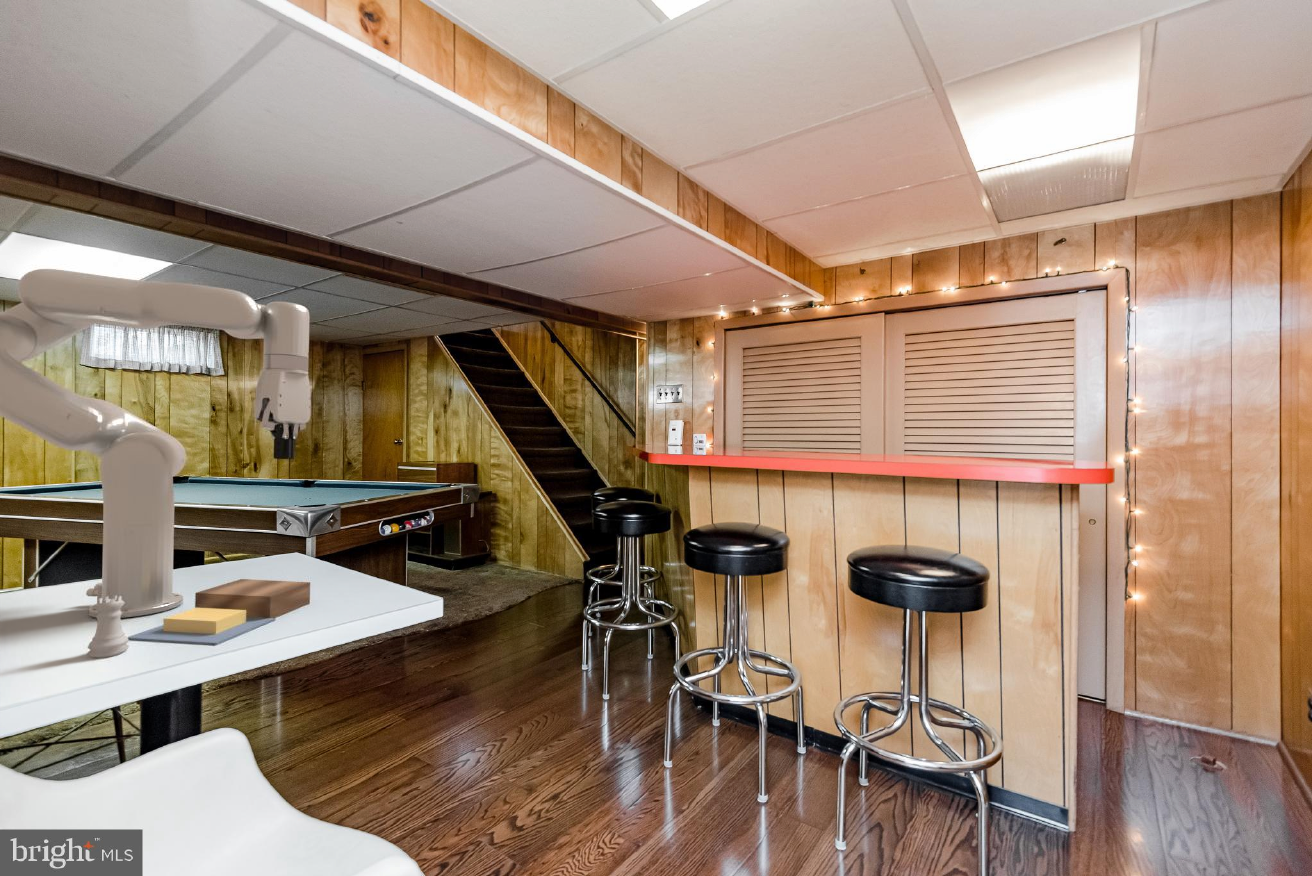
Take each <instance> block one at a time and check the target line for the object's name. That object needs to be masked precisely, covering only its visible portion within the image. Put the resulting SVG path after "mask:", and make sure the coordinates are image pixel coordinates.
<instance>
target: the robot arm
mask: <svg viewBox="0 0 1312 876" xmlns="http://www.w3.org/2000/svg"><path fill="white" fill-rule="evenodd" d="M17 295H18V297H19V299H20V301H21V302H20V303H18V304H16V305H14V306H13V307H10V308H8V309H7V310H5V311H2V312H1V311H0V416H1V417H2V418H4V419H6V420H8V421H9V422H11V423H13V424H14V425H17V426H19V427H21V428H22V429H24V430H26V431H28V432H30V433H32V434H34V435H36V436H38V437H40V439H43V440H44V441H46V442H48V443H50V444H52V445H53V446H54V447H58V448H61V449H63V450H67V451H69V450H70V451H86V452H87V453H90V454H92V455H94V456H96V457H97V458H100V465H99V472H100V480H101V481H100V482H101V487H102V500H103V509H102V510H103V511H102V513H103V514H102V517H103V518H102V519H103V520H102V525H103V527H102V529H103V530H102V531H103V532H102V538H103V539H102V570H101V571H102V572H101V573H102V576H101V582H98V583H96V584H95V585H94V586H93V588H89V589H86V591H85V592H86V593H85V594H86V596H88V597H96V601H97V600H98V599H99V598H102V600H104V597H107V596H108V597H109V599H112V596H117V598H118V596H121V600H123V601H124V602H125V603H124V604H123V606H122V607H121V608H120V611H121V612H122V615H121V616H120V619H122V618H131V617H132V618H133V617H134V618H135V617H141V616H146V615H147V616H148V615H151V614H156V613H161V612H165V611H168V610H172V609H175V608H177V607H179V606H181V605H182V604H183V603H184V596H183V595H182V594H180V593H175V592H174V593H173V586H174V585H173V584H174V583H173V582H174V581H173V579H174V577H173V576H174V545H175V544H174V543H175V542H174V541H175V540H174V537H175V493H174V492H175V491H174V478H173V477H175V476H177V475H178V474H179V473H180V472H181V471H182V470H183V469H184V467H185V465H186V461H187V453H186V449H185V448H184V446H183V443H181V442H180V441H179V440H178V439H176V438H175V437H174V436H173V435H171V434H169V433H167V432H166V431H163V430H162V429H160V428H158V427H156V426H154V425H153V424H152V423H149V422H148V421H145V420H144V419H142V418H141V417H139V416H137V415H135V414H133V413H131V412H130V411H128V410H126V409H124V408H123V407H121V406H119V405H116V404H115V403H112V402H110V401H107V400H103V399H100V398H94V397H88V396H84V395H81V394H78V393H76V392H74V391H72V390H70V389H68V388H67V387H64V386H63V385H60V384H59V383H57V382H55V381H53V380H51V379H50V378H48V377H46V376H45V375H43V374H42V373H40V372H38V371H37V370H35V369H32V368H31V367H28V366H26V365H24V364H22V362H27V361H28V360H31V359H33V358H36V357H37V356H40V355H42V354H43V353H45V352H47V351H49V350H50V349H53V348H55V346H58V345H60V344H61V343H63V342H65V341H67V340H68V339H69V340H70V339H71V338H72V337H74V336H76V335H77V334H79V333H81V332H82V331H84V330H86V329H88V328H89V327H91V326H92V325H103V326H105V325H106V326H113V327H114V326H115V327H123V328H131V329H140V330H146V329H147V330H151V329H155V328H158V327H163V326H184V327H194V328H195V327H196V328H197V327H198V328H207V329H215V330H220V331H221V330H222V331H224V332H225V333H227V334H228V335H229V336H232V337H233V338H236V339H240V340H241V339H243V340H244V339H245V340H255V339H256V340H257V339H263V358H262V359H263V363H262V365H263V366H262V370H260V372H259V375H258V378H257V385H256V390H255V398H254V415H253V416H254V419H255V420H256V421H257V422H260V423H261V424H260V426H261V428H262V429H265V430H269V432H270V434H271V438H272V439H273V459H275V460H293V459H295V451H296V450H295V448H296V445H295V444H296V443H295V442H296V439H297V438H298V435H299V432H300V431H303V430H306V429H307V423H308V422H309V421H310V420H311V415H312V414H311V413H312V411H311V410H312V403H311V402H312V397H311V387H310V378H309V353H310V352H309V349H310V312H309V309H308V308H307V307H305V306H304V305H302V304H299V303H294V302H288V301H271V302H269V303H267V304H261V303H257V302H256V300H254V299H253V297H251V296H250V295H248V294H247V293H244V292H242V291H238V290H235V289H229V288H225V287H224V288H223V287H216V286H209V285H202V284H201V285H200V284H193V283H186V282H169V281H168V282H163V281H154V280H153V281H148V280H147V281H146V280H138V279H129V278H122V277H113V276H107V275H99V274H92V273H85V272H77V271H71V270H64V269H55V268H38V269H34V270H30V271H28V272H26V273H25V274H24V275H23V276H21V278H20V280H19V281H18V283H17ZM96 604H97V603H95V604H93V605H91V606H89V608H88V614H89V616H90V617H91V618H92V617H93V618H96V616H97V615H98V611H97V610H96V609H95V608H94V606H95V605H96Z"/></svg>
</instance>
